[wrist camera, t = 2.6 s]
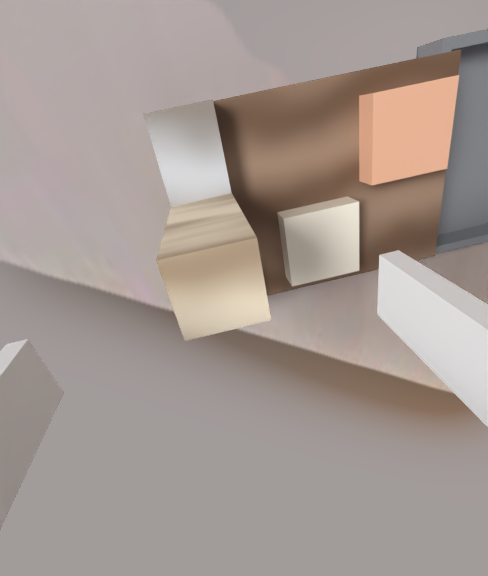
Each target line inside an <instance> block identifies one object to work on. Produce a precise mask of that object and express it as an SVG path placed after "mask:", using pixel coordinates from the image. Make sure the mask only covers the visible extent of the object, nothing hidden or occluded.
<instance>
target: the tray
mask: <svg viewBox="0 0 488 576" xmlns="http://www.w3.org/2000/svg"><path fill="white" fill-rule="evenodd" d="M460 49H461V56H460V64H459V71H458V75H459V82H458V89H457V97H456V105H455V112H454V120H453V128H452V136H451V143H450V151H449V159H448V166H447V169H446V173H445V181H444V189H443V197H442V204H441V212H440V220H439V228H438V236H437V244H436V251H435V254H437V253H441V252H445V251H450V250H454V249H458V248H462V247H466V246H471V245H475V244H479V243H483V242H488V29H487V30H482V31H477V32H472V33H467V34H462V35H458V36H453V37H448V38H443V39H440V40H437V41H434V42H432V43H429V44H426V45H423V46H420V47H418V48H417V58H422V57H427V56H431V55H436V54H441V53H446V52H450V51H455V50H460Z"/></svg>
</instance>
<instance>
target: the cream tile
mask: <svg viewBox="0 0 488 576" xmlns="http://www.w3.org/2000/svg"><path fill="white" fill-rule="evenodd" d="M277 214H278V221H279V229H280V236H281V244H282V251H283V259H284V266H285V274H286V278H287V279H288V281H289V282H290V284H291V286H297V285H301V284H305V283H309V282H314V281H318V280H322V279H326V278H331V277H335V276H339V275H343V274H347V273H352V272H356V271H359V201H357V200H355V199H352V198H350V197H348V196H347V197H343V198H338V199H334V200H329V201H325V202H321V203H316V204H312V205H307V206H303V207H298V208H294V209H290V210H285V211H281V212H277Z"/></svg>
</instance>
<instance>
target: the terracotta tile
mask: <svg viewBox="0 0 488 576" xmlns="http://www.w3.org/2000/svg"><path fill="white" fill-rule="evenodd" d="M458 82H459V75H456V76H451V77H445V78H440V79H435V80H430V81H426V82H421V83H416V84H412V85H407V86H402V87H398V88H393V89H388V90H383V91H379V92H374V93H369V94H365V95H360V96H359V181H360V182H363V183H366V184H369V185H377V184H381V183H385V182H390V181H394V180H399V179H403V178H408V177H412V176H416V175H421V174H425V173H430V172H434V171H439V170H443V169H447V166H448V159H449V151H450V143H451V136H452V128H453V120H454V112H455V105H456V97H457V89H458Z"/></svg>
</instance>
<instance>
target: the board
mask: <svg viewBox="0 0 488 576" xmlns="http://www.w3.org/2000/svg"><path fill="white" fill-rule="evenodd" d="M460 56H461V49H460V50H455V51H450V52H446V53H441V54H436V55H431V56H427V57H422V58H417V59H413V60H407V61H403V62H398V63H393V64H388V65H384V66H379V67H374V68H369V69H364V70H360V71H355V72H350V73H345V74H341V75H336V76H332V77H326V78H322V79H317V80H312V81H308V82H302V83H298V84H293V85H288V86H283V87H279V88H274V89H269V90H264V91H259V92H255V93H250V94H245V95H240V96H236V97H231V98H226V99H221V100H216V101H213V102H214V107H215V112H216V117H217V122H218V127H219V132H220V137H221V142H222V147H223V152H224V157H225V162H226V167H227V172H228V177H229V182H230V187H231V192H232V195H233V196H234V198H235V200H236V202H237V203H238V205H239V207H240V209H241V210H242V212H243V214H244V216H245V217H246V219H247V221H248V223H249V224H250V226H251V228H252V230H253V231H254V233H255V235H256V237H257V240H258V246H259V252H260V258H261V264H262V269H263V275H264V281H265V287H266V293H267V295H271V294H276V293H280V292H284V291H288V290H292V289H297V288H301V287H305V286H309V285H314V284H318V283H322V282H326V281H330V280H335V279H339V278H343V277H347V276H352V275H356V274H360V273H364V272H368V271H373V270H377V269H379V255H381V254H385V253H389V252H393V251H398V250H399V251H401V252H402V253H404V254H406V255H407V256H409V257H411V258H412V259H414V260H419V259H423V258H428V257H432V256H435V251H436V244H437V236H438V228H439V220H440V212H441V204H442V197H443V189H444V181H445V173H446V169H443V170H439V171H434V172H430V173H425V174H421V175H416V176H412V177H408V178H403V179H399V180H394V181H390V182H385V183H381V184H377V185H369V184H366V183H363V182H360V181H359V96H360V95H365V94H369V93H374V92H379V91H383V90H388V89H393V88H398V87H402V86H407V85H412V84H416V83H421V82H426V81H430V80H435V79H440V78H445V77H451V76H456V75H458V71H459V64H460ZM347 196H348V197H350V198H352V199H355V200H357V201H359V271H356V272H352V273H347V274H343V275H339V276H335V277H331V278H326V279H322V280H318V281H314V282H309V283H305V284H301V285H297V286H291V284H290V282H289V281H288V279H287V278H286V274H285V266H284V259H283V251H282V244H281V236H280V229H279V221H278V214H277V212H281V211H285V210H290V209H294V208H298V207H303V206H307V205H312V204H316V203H321V202H325V201H329V200H334V199H338V198H343V197H347Z"/></svg>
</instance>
